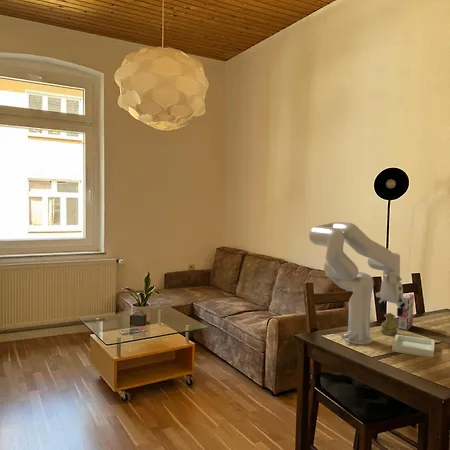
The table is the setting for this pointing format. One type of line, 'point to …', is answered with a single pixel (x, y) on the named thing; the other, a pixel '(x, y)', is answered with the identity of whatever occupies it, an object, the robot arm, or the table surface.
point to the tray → (413, 346)
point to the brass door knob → (389, 325)
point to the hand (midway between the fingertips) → (390, 313)
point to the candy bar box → (406, 313)
